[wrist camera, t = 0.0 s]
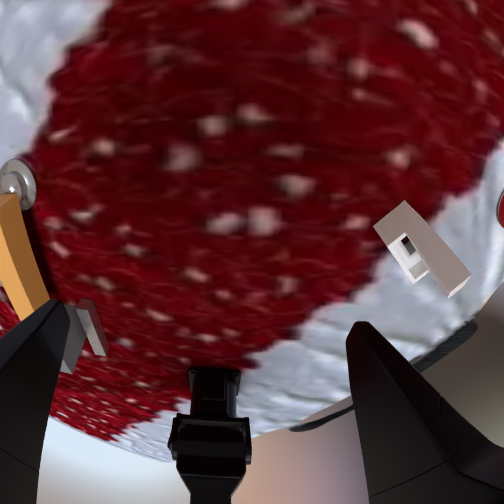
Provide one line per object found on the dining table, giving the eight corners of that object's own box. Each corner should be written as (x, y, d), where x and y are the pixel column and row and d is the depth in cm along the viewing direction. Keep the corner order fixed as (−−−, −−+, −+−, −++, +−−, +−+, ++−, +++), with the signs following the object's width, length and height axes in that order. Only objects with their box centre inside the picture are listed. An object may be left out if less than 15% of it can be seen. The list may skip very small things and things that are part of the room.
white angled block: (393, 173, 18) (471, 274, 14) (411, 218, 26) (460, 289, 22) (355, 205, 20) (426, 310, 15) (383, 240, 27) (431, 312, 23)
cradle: (109, 346, 32) (105, 357, 30) (38, 331, 31) (33, 341, 29) (61, 154, 19) (49, 161, 17) (-22, 164, 18) (-33, 171, 16)
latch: (53, 307, 25) (40, 332, 22) (33, 303, 25) (19, 327, 22) (15, 185, 18) (-11, 205, 15) (-6, 186, 17) (-31, 205, 14)
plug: (87, 334, 31) (68, 384, 25) (49, 327, 30) (28, 372, 24) (75, 305, 28) (51, 358, 22) (36, 299, 27) (9, 346, 21)
